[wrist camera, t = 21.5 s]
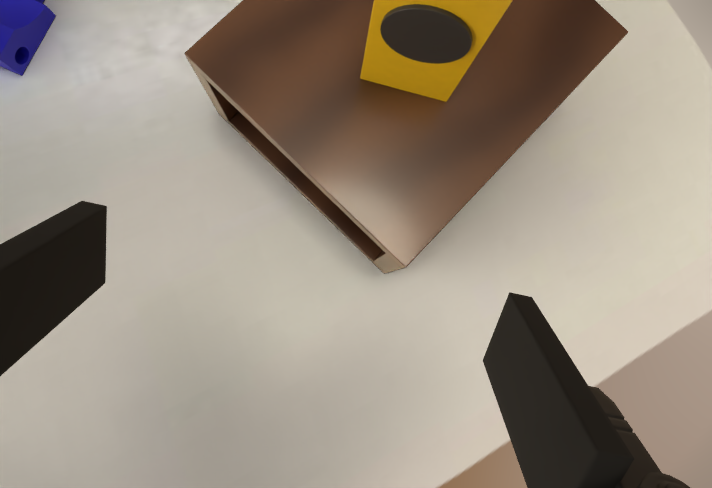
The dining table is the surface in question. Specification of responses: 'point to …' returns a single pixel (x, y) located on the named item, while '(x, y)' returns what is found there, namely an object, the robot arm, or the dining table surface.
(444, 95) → the yellow rectangular block
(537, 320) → the robot arm
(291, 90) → the shelf
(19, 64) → the cable clip
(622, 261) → the dining table surface
